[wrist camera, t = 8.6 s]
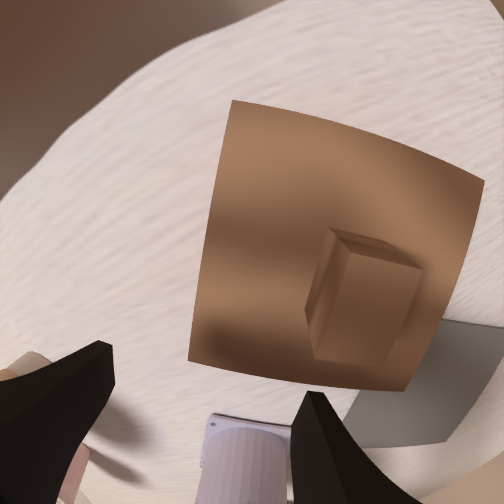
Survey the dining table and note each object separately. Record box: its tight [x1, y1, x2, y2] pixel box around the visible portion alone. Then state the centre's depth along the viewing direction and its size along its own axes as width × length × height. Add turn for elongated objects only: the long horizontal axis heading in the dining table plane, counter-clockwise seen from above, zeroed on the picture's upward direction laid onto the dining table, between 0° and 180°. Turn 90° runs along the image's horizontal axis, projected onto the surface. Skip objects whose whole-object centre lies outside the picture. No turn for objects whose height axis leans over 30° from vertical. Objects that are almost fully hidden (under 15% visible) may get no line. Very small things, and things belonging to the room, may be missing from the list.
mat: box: [342, 319, 504, 448], centre depth 21 cm, size 15×15×1 cm
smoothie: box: [56, 442, 91, 504], centre depth 20 cm, size 6×6×14 cm
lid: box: [188, 100, 485, 392], centre depth 12 cm, size 13×13×5 cm
